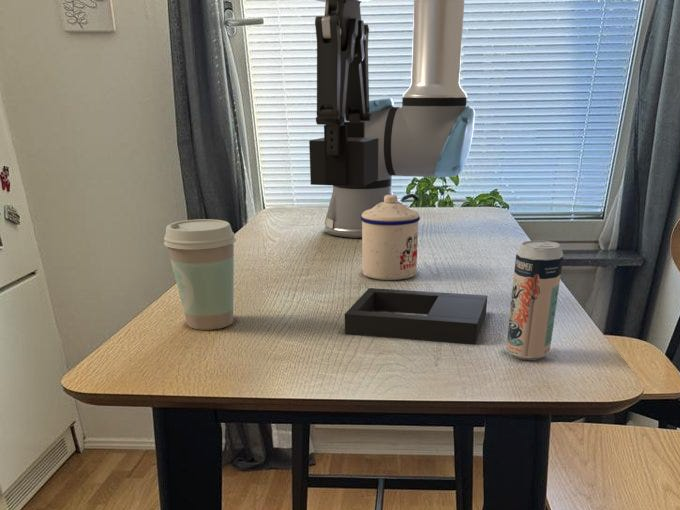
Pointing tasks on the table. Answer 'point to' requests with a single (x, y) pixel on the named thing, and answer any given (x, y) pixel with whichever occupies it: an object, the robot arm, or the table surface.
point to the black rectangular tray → (439, 325)
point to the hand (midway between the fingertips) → (345, 180)
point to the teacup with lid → (389, 240)
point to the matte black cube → (359, 161)
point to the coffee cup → (203, 270)
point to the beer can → (534, 299)
